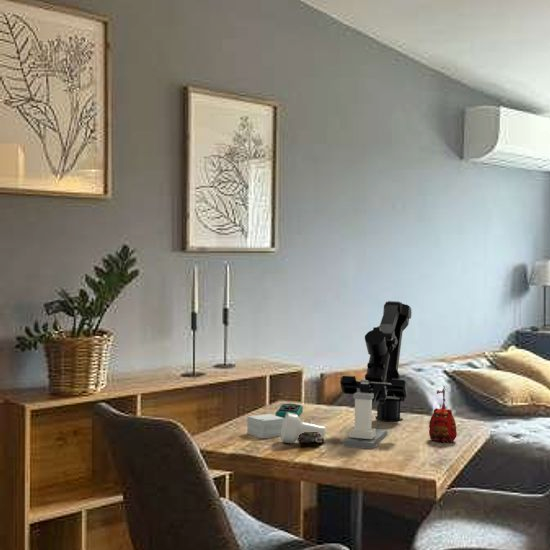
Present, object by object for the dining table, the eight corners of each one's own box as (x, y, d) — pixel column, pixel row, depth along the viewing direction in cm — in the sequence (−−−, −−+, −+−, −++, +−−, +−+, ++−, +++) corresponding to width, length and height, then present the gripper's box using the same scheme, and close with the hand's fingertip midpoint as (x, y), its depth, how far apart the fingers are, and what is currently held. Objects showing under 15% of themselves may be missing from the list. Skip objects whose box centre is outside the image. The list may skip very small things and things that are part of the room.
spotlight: (277, 434, 220) (284, 407, 218) (317, 442, 221) (324, 415, 219) (280, 446, 212) (287, 418, 210) (321, 454, 213) (328, 427, 212)
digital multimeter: (302, 412, 263) (303, 403, 263) (298, 421, 248) (298, 411, 248) (280, 411, 264) (281, 403, 264) (275, 420, 249) (275, 410, 249)
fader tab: (354, 433, 220) (355, 391, 219) (375, 435, 218) (376, 393, 217) (349, 437, 215) (350, 394, 215) (371, 439, 213) (372, 395, 213)
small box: (269, 431, 231) (269, 413, 231) (284, 436, 225) (284, 418, 225) (246, 433, 227) (246, 415, 227) (261, 439, 220) (261, 420, 220)
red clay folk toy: (426, 441, 220) (428, 387, 220) (431, 436, 227) (432, 384, 227) (454, 444, 218) (456, 389, 217) (458, 439, 224) (459, 386, 224)
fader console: (359, 432, 230) (359, 427, 230) (386, 435, 227) (386, 429, 227) (343, 446, 213) (343, 439, 213) (373, 448, 210) (373, 442, 210)
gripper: (412, 385, 236) (405, 430, 225) (350, 381, 242) (341, 424, 232) (408, 362, 228) (400, 407, 218) (345, 358, 234) (334, 402, 224)
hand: (368, 411), depth 223 cm, fingers closed
